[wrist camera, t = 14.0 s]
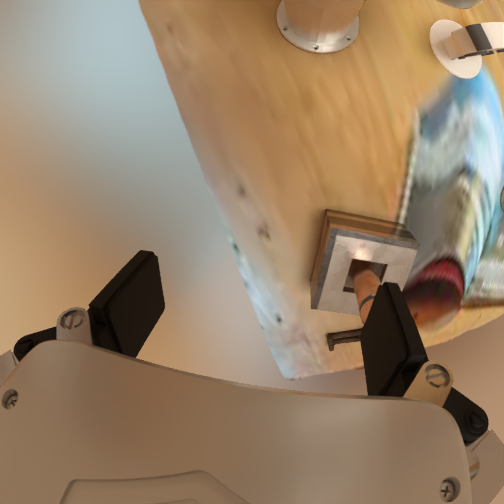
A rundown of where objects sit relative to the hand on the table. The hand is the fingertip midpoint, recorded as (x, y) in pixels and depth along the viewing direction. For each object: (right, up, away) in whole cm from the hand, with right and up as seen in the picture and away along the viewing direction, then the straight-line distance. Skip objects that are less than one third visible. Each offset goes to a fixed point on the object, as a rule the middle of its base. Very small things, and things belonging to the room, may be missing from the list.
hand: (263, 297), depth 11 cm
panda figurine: (+33, +36, +15) cm, 51 cm away
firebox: (+18, +1, +35) cm, 39 cm away
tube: (+18, +1, +35) cm, 39 cm away
